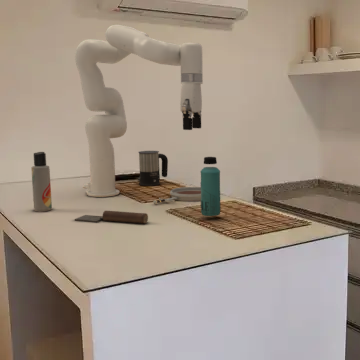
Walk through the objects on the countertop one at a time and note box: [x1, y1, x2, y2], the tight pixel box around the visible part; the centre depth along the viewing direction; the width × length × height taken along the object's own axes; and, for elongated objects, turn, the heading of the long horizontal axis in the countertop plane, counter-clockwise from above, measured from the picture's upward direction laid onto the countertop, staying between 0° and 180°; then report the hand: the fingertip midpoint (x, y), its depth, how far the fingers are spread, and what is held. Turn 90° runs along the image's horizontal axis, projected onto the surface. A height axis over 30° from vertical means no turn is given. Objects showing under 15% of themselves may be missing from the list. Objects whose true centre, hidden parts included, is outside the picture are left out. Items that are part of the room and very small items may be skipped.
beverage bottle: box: [199, 156, 222, 217], centre depth 157 cm, size 6×7×20 cm
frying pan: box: [152, 186, 201, 206], centre depth 189 cm, size 17×3×28 cm
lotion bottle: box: [31, 151, 53, 213], centre depth 168 cm, size 6×6×20 cm
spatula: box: [74, 210, 149, 225], centre depth 155 cm, size 23×6×3 cm, turn 75°
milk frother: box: [137, 150, 169, 187], centre depth 224 cm, size 14×16×15 cm
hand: (192, 129), depth 174 cm, fingers open, 9 cm apart
